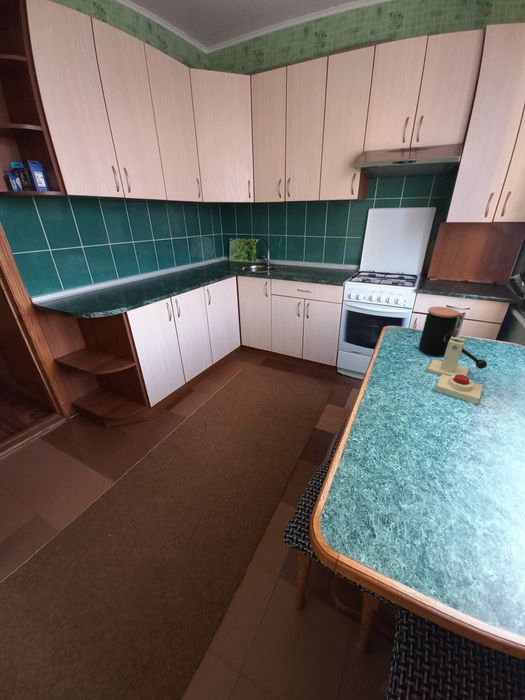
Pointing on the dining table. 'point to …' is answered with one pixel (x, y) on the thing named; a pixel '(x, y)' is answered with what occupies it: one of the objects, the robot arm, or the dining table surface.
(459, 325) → the candy bar box
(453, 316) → the coffee jar
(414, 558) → the dining table surface
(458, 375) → the button
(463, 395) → the button block
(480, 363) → the black lever
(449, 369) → the lever base
